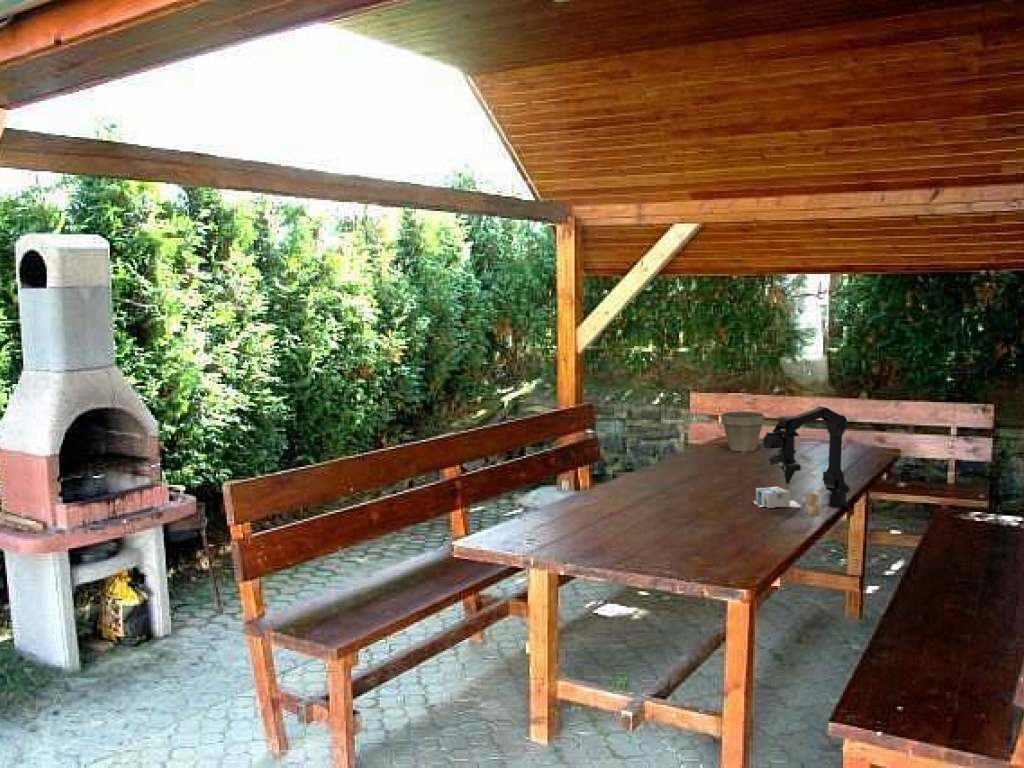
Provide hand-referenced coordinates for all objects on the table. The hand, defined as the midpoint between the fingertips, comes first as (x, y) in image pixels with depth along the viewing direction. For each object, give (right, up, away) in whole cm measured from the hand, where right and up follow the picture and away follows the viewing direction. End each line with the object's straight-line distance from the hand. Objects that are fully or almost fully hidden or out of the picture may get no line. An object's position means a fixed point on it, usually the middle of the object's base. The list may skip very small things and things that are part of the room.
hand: (787, 483), depth 380 cm
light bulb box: (-1, -8, +7) cm, 11 cm away
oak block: (+9, -12, -4) cm, 16 cm away
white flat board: (0, -11, +14) cm, 18 cm away
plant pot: (+21, +2, +155) cm, 156 cm away
